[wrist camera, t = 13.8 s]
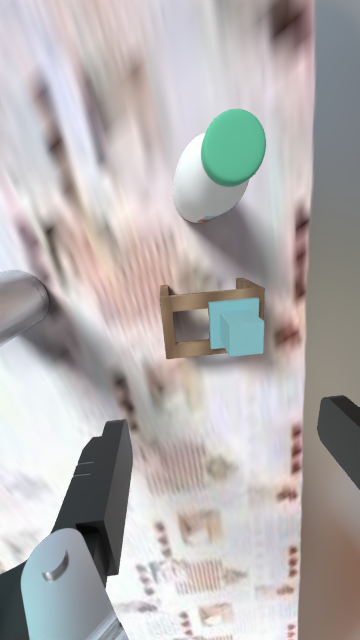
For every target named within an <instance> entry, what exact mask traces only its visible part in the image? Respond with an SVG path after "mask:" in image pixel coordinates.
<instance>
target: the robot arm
mask: <svg viewBox="0 0 360 640" xmlns="http://www.w3.org/2000/svg"><path fill="white" fill-rule="evenodd" d="M48 308H49V297H48V294H47V291H46V289H45V288H44V286H43V285H42V284H41V283H40V281H39V280H37V279H36V278H35V277H34V276H32V275H30V274H28V273H26V272H22V271H17V270H10V271H4V272H0V347H1V346H3V345H4V344H6V343H7V342H9V341H10V340H12V339H13V338H15V337H16V336H18V335H19V334H21V333H22V332H24V331H25V330H27V329H28V328H30V327H32V326H33V325H35V324H36V323H38V322H39V321H41V320H42V319H43V318H44V317H45V315H46V314H47V312H48ZM317 430H318V435H319V437H320V440H321V441H322V443H323V444H324V445H325V447H326V448H327V449H328V451H329V452H330V453H331V455H332V456H333V457H334V458H335V460H336V461H337V462H338V463H339V465H340V466H341V467H342V468H343V469H344V471H345V472H346V473H347V474H348V476H349V477H350V478H351V480H352V481H353V482H354V483H355V485H356V486H357V487H358V488H359V490H360V407H358V406H357V405H355V404H354V403H353V402H352V401H351V400H350V399H348V398H347V397H346V396H343V395H341V396H331V397H324V398H322V400H321V404H320V411H319V418H318V426H317ZM132 464H133V453H132V445H131V440H130V434H129V429H128V423H127V420H126V419H123V420H115V421H107V422H106V424H105V427H104V430H103V434H102V436H100V437H93V438H92V439H91V440H90V441H89V442H88V444H87V445H86V446H85V447H84V449H83V450H82V453H81V456H80V458H79V461H78V466H76V469H75V472H74V474H73V478H72V480H71V482H70V485H69V488H68V490H67V493H66V496H65V498H64V501H63V504H62V506H61V509H60V512H59V514H58V517H57V519H56V522H55V525H54V527H53V529H52V532H51V533H50V535H49V536H47V537H46V538H45V539H44V540H43V541H42V542H41V543H40V544H39V545H38V546H37V547H36V548H35V549H34V551H33V552H32V554H31V555H30V557H29V558H28V559H27V560H26V561H25V562H23V563H22V564H20V565H18V566H16V567H15V568H13V569H11V570H9V571H7V572H5V573H2V574H0V640H129V639H128V637H127V635H126V633H125V630H124V628H123V626H122V624H121V623H120V622H119V620H118V618H117V616H116V614H115V611H114V609H113V607H112V604H111V602H110V600H109V597H108V595H107V593H106V590H105V589H106V582H107V576H112V575H118V573H119V565H120V558H121V550H122V542H123V534H124V527H125V519H126V511H127V504H128V496H129V488H130V480H131V473H132Z"/></svg>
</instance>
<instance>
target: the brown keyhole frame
mask: <svg viewBox="0 0 360 640" xmlns="http://www.w3.org/2000/svg"><path fill="white" fill-rule="evenodd" d="M264 292H265V288H263V287H261V286H259V285H257V284H255V283H253V282H251V281H249V280H246V279H244V278H237V279H236V289H235V290H224V291H213V292H203V293H192V294H181V295H171V296H169V292H168V285H161V287H160V306H161V314H162V323H163V332H164V341H165V350H166V359H173V358H183V357H193V356H202V355H212V354H222V353H227V351H226V349H225V348H219V349H211V347H210V339H206V340H196V341H186V342H176V343H175V333H174V322H173V312H175V311H185V310H195V309H206V308H208V314H209V304H208V302H215V301H226V300H236V299H247V298H259V318H260V319H262V320H263V319H264ZM209 338H210V331H209Z"/></svg>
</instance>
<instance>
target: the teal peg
mask: <svg viewBox="0 0 360 640" xmlns="http://www.w3.org/2000/svg"><path fill="white" fill-rule="evenodd" d="M208 304H209V328H210V347H211V349H219V348H225V349H226V351H227V353H228V354H229V356H230V357H233V356H243V355H253V354H262V353H263V345H264V321H263V320H262V319H260V318H259V298H247V299H236V300H226V301H215V302H208Z"/></svg>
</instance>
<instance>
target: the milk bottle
mask: <svg viewBox="0 0 360 640" xmlns="http://www.w3.org/2000/svg"><path fill="white" fill-rule="evenodd" d="M265 149H266V139H265V133H264V130H263V127H262V125H261V123H260V122H259V120H258V119H257V118H256V117H255V116H254V115H253V114H251V113H250V112H248V111H246V110H242V109H232V110H228V111H225V112H224V113H222V114H220V115H219V116H217V117H216V118H215V119H214V120H213V121H212V123H211V124H210V126H209V127H208V129H207V131H206V132H205V133H203V134H201V135H199V136H198V137H196V138H195V139H194V140H193V141H191V142H190V144H189V145H188V146H187V147H186V149H185V150H184V152H183V153H182V155H181V157H180V160H179V163H178V166H177V169H176V174H175V179H174V184H173V202H174V205H175V208H176V210H177V211H178V213H179V214H180V215H181V216H182V217H183V218H184V219H186V220H188V221H190V222H194V223H201V222H206V221H209V220H211V219H213V218H216V217H218V216H220V215H222V214H224V213H225V212H227V211H229V210H230V209H231V208H233V207H234V206H235V205H236V204H237V203H238V201H239V200H240V199H241V197H242V196H243V194H244V192H245V190H246V188H247V185H248V182H249V179H250V178H251V177H252V176H253V175H254V174H255V173H256V171H257V170H258V169H259V167H260V165H261V163H262V161H263V158H264V154H265Z"/></svg>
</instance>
